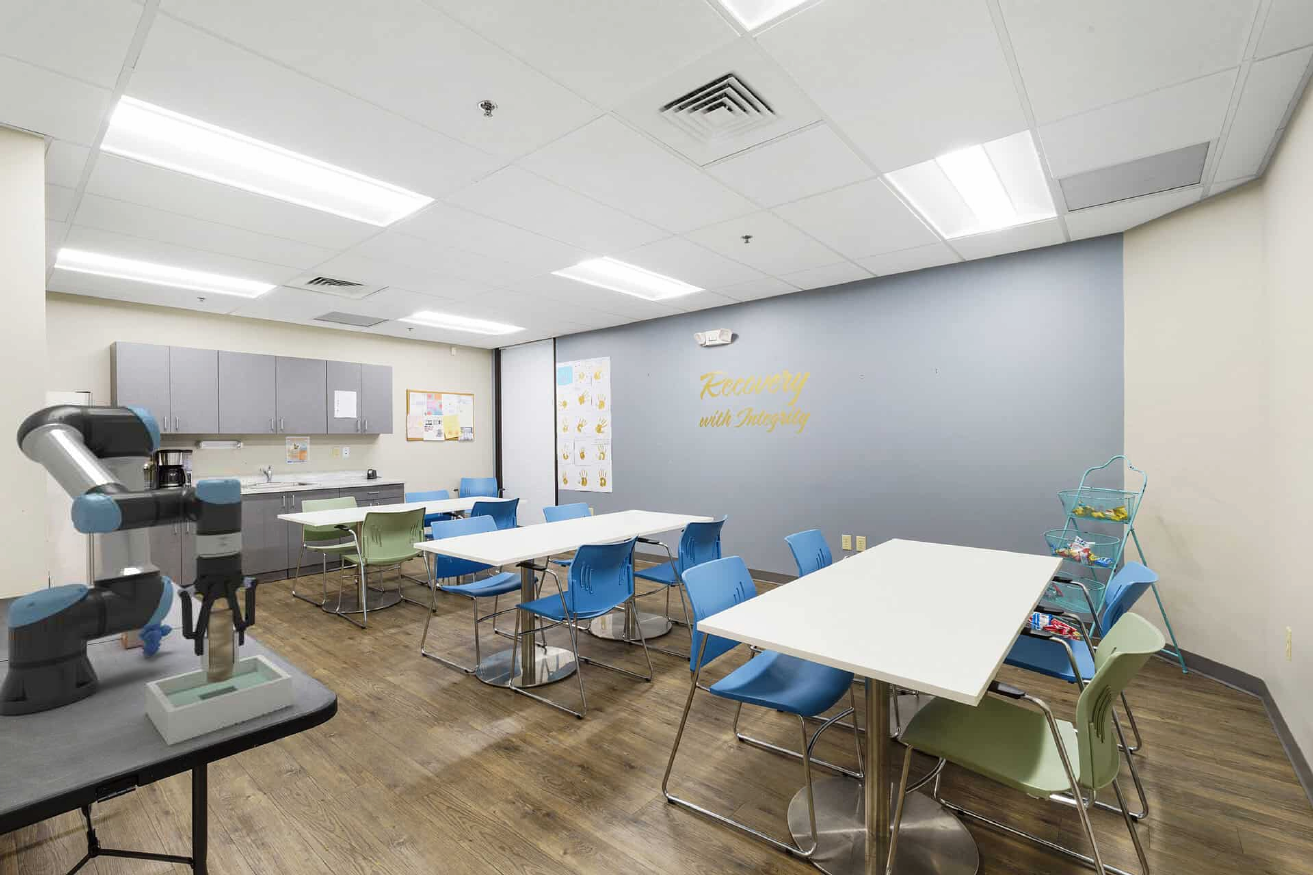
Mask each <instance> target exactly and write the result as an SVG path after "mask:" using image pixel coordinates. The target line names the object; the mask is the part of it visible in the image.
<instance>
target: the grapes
mask: <svg viewBox="0 0 1313 875" xmlns="http://www.w3.org/2000/svg"><path fill="white" fill-rule="evenodd" d="M143 629H144V630H143V631H142V632H141V633H140V634H139V635H138V636H139V637H141V638H140V639H142V640H143V641H144V643H145V644H144V645H143V646H141V648H140V649H141V650H142V653H143V654H145V655H146V656H148V657H152V656H155V655H156V654H157V653H158V651H159V650H160V647H161V645H162V643H161V641H162V638H163V637H166V636H169V634H170V633H171V632H172V631H173V628H172V627H171V626H170V625H168V624H162V621H161V622H160V623H158V624H155V625H152V626H148V627H145V628H143Z"/></svg>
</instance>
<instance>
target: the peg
mask: <svg viewBox="0 0 1313 875" xmlns="http://www.w3.org/2000/svg"><path fill="white" fill-rule="evenodd" d="M233 630H234V623H233V610H232V609H230V608H229V607H221V608H215V609H211V613H210V617H209V620H208V624H207V628H206V632H205V635H206V637H207V638H208V639H209V671H207V682H208V683H218V682H223V681H226V680H229V679H231V678H232V677H233Z"/></svg>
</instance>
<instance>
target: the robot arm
mask: <svg viewBox="0 0 1313 875" xmlns="http://www.w3.org/2000/svg"><path fill="white" fill-rule="evenodd" d="M160 442H161V430H160V427H159V424H158V421H157V420H156V418H155V416H154V415H153V414H152V413H151V412H150V411H149V410H147V409H145V408H141V407H134V406H132V407H131V406H126V405H121V406H120V405H119V406H118V405H117V406H116V405H87V404H86V405H85V404H84V405H83V404H82V405H81V404H67V403H65V404H56V405H51V406H48V407H43V408H41V409H40V410H38V411H35V412H34V413H32V414H30V415H28V417H27V418H25V419H24V420H23V422H22V423H21V424H20V425H19V428H18V430H17V432H16V443H17V446H18V448H19V449H20V451H21V453H23V454H24V456H26V458H27V459H29V460H31V461H32V462H33V463H34V462H35V463H38V464H41V465H42V466H43V467H44V469H45V470H46V471H47V472H48V473H49V474H50V476H52V477H53V479H54V480H55V481H56V482H57V483H58V485H60V487H61V488H62V489H63V490H64V491H65V493H67V495H69V497H70V498H71V499H72V500H73V503H72V506H71V508H70V509H71V510H70V515H71V516H70V518H71V521H72V522H73V527H74V529H75V530H76V531H77V532H79V533H81V534H84V535H87V534H89V535H91V534H99V546H100V547H99V548H100V550H99V551H100V558H101V559H100V560H101V561H100V562H101V571H100V572H99V573H98V575H96V576H95V577H94V578H93V587H91V588H88V586H87V585H86V584H83V583H71V584H65V585H58V586H54V587H53V586H52V587H48V588H46V589H45V588H44V589H41V590H38V591H33V592H31V593H29V594H26V595H24V596H21V597H19V598H18V599H16V600H14V601H13V602H12V603H11V605H10V606H9V610H8V616H7V617H8V618H7V622H6V626H7V629H8V630H7V631H8V632H7V633H8V634H7V635H8V636H7V641H8V642H7V643H8V644H7V645H8V646H7V647H8V656H7V657H8V672H7V673H6V675H5V678H4V680H3V683H2V685H1V687H0V715H3V714H4V716H5V715H6V716H9V715H10V716H13V715H23V714H31V713H35V712H37V713H38V712H41V711H47V710H50V709H56V708H57V707H62V706H65V705H68V704H73V703H74V702H77V701H80V700H82V699H84V698H86V697H89V696H90V695H92V694H94V693H95V692H96V691H97V690H98V689H99V677H98V675H97V673H96V671H95V669H94V667H93V665H92V663H91V661H90V659H89V657H88V642H90V641H95V640H99V639H103V638H107V637H111V636H115V635H121V633H124V632H129V631H133V630H141V629H143V628H145V627H148V626H152V625H155V624H158V623H160V622H161V623H162V622H163V621H164V620H165V619H166V618H167V616H168V614H169V613H170V611H171V608H172V605H173V602H174V601H173V600H174V587H173V584H172V580H171V579H170V577H168V576H167V575H162V574H161V572H160V571H161V570H160V568H159V567H157V566H156V565H154V564H153V563H152V562H151V551H150V550H151V549H150V538H149V528H154V527H164V526H166V527H167V526H173V525H181V524H183V525H184V524H195V527H196V528H195V529H196V531H195V535H196V536H195V546H196V547H195V553H196V555H199V556H197V558H196V559H195V561H196V562H195V564H196V566H195V567H196V568H195V569H196V570H195V571H196V575H195V580H194V581H193V584H191V585H190V586H188V587H186V588H184V589H183V588H181V589H178V590H177V592H176V593H177V595H178V597H179V599H180V601H181V625H182V626H181V630H182V631H181V632H182V634H181V635H182V637H184V639H186V640H189V641H190V640H192V641H193V640H194V644H193V645H194V654H195V655H196V657H200V670H203V671H204V672H207V671H209V639H208V638H207V637H206V636H205V635H206V628H207V624H208V620H209V617H210V613H211V610H213V609H212V608H213V606H214V605H215V604H214V603H215V601H217V600H220V599H225V600H226V602H227V606H228V608H230V609H232V610H233V627H234V629H233V664H238V663H239V660H240V647H242V646H244V644H245V631H246V630H247V628H249V627H252V626H254V625H255V624H256V592H257V591H256V590H257V587H258V586H259V583H260V581H259V579H258V578H256V577H253V576H252V577H248V576H245V574H243V554H242V552H240V551H241V550H242V548H243V547H242V544H243V542H242V540H243V539H242V538H243V537H242V527H243V526H242V521H243V516H242V514H243V513H242V512H243V510H242V509H243V508H242V507H243V506H242V505H243V494H242V486H241V481H240V480H239V479H237V478H211V479H201V480H199V481H198V482H197V483H196V485H195V486H181V487H179V486H178V487H175V488H166V489H153V490H151V489H149V490H146V489H145V488H146V486H145V474H144V467H145V465H146V464H147V463H149V462H150V461H151V455H152V454H154V453H156V452H157V451H158V450H159V448H160V446H161V445H160V444H161V443H160ZM242 584H243V587H244V588H245V591H244V593H245V595H244V599H245V600H244V619H243V616H242V612H241V608H240V604H239V601H238V595H237V593H236V592H237V591H238V590H239V588H240V587H241V586H242ZM195 592H198V593H199V595H201V596H202V598H201V605H200V606H201V607H200V609H199V612H198V613H199V614H198V618H197V622H196V625H195V629H194V627H193V626H194V624H193V622H194V620H193V601H192V598H193V597H195V596H194V595H195Z"/></svg>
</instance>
